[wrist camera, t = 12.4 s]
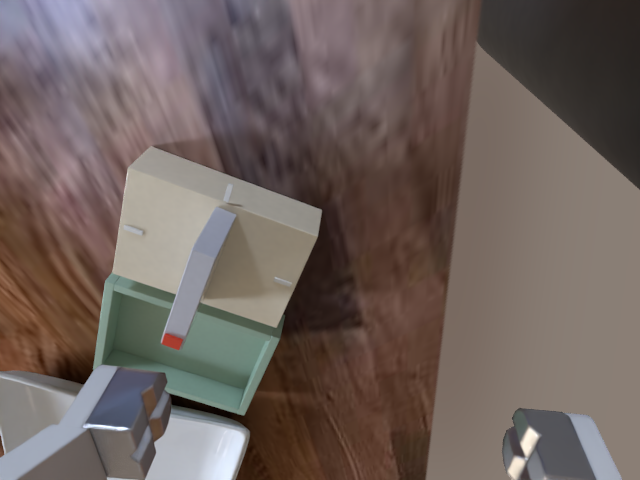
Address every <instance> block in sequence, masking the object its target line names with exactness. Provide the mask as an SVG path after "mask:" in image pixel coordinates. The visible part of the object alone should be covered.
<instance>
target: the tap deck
mask: <svg viewBox="0 0 640 480" xmlns="http://www.w3.org/2000/svg"><path fill="white" fill-rule="evenodd" d="M215 207H219V208H222V209H224V210H226V211H229V212H231V213H234V214H236V215H237V216H236V219H235V222H234V224H233V227H232V229H231V232H230V235H229V237H228V240H227V242H226V245H225V247H224V250H223V253H222V255H221V258H220V260H219V263H218V266H217V268H216V271H215V273H214V276H213V279H212V281H211V284H210V286H209V289H208V292H207V294H206V297H205V299H204V302H203V304H206V305H209V306H212V307H215V308H218V309H221V310H224V311H227V312H230V313H233V314H236V315H239V316H242V317H245V318H248V319H251V320H254V321H257V322H260V323H263V324H266V325H269V326H272V327H275V328H277V326H278V324H279V322H280V320H281V318H282V315H283V313H284V311H285V309H286V307H287V304H288V302H289V300H290V298H291V296H292V293H293V291H294V289H295V287H296V284H297V282H298V280H299V278H300V276H301V273H302V271H303V269H304V267H305V265H306V262H307V260H308V258H309V256H310V253H311V251H312V249H313V247H314V245H315V242H316V240H317V238H318V234H319V228H320V222H321V215H322V210H321V209H318V208H316V207H313V206H310V205H308V204H305V203H302V202H299V201H297V200H294V199H291V198H289V197H286V196H283V195H281V194H278V193H275V192H273V191H270V190H267V189H265V188H262V187H259V186H257V185H254V184H251V183H248V182H246V181H243V180H240V179H238V178H235V177H232V176H230V175H227V174H224V173H222V172H219V171H216V170H214V169H211V168H208V167H205V166H203V165H200V164H197V163H195V162H192V161H189V160H187V159H184V158H181V157H179V156H176V155H173V154H171V153H168V152H165V151H162V150H160V149H157V148H154V147H152V146H150V147H149V148H148V149H147V150H146V151H145V152H144V153H143V154H142V155H141V156H140V157H139V158H138V159H137V160H136V161H135V162H133V163H132V164H131V165H130V166H129V167H128V172H127V179H126V185H125V192H124V199H123V205H122V212H121V219H120V225H119V232H118V239H117V246H116V252H115V259H114V266H113V272H112V273H113V274H116V275H119V276H122V277H125V278H128V279H131V280H134V281H137V282H140V283H143V284H146V285H149V286H152V287H155V288H158V289H161V290H164V291H167V292H170V293H173V294H177V291H178V288H179V285H180V282H181V279H182V276H183V273H184V270H185V267H186V264H187V261H188V258H189V255H190V252H191V249H192V247H193V246H194V244H195V242H196V240H197V239H198V237H199V235H200V233H201V232H202V230H203V228H204V226H205V225H206V223H207V221H208V219H209V218H210V216H211V214H212V212H213V211H214V209H215Z"/></svg>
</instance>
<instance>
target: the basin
mask: <svg viewBox="0 0 640 480" xmlns="http://www.w3.org/2000/svg"><path fill="white" fill-rule="evenodd" d="M175 297H176V294H173V293H170V292H167V291H164V290H161V289H158V288H155V287H152V286H149V285H146V284H143V283H140V282H137V281H134V280H131V279H128V278H125V277H122V276H119V275H116V274H113V273H111V274H110V276H109V277H108V278H107V280H106V281H105V287H104V294H103V301H102V308H101V315H100V323H99V330H98V337H97V344H96V351H95V358H94V365H93V370H95V369H96V368H97V367H98V366H99V365H109V366H118V367H126V368H134V369H142V370H149V371H157V372H164V373H165V374H166V378H167V384H166V387H165V390H166V391H167V392H168V393H171V394H174V395H177V396H180V397H184V398H187V399H190V400H194V401H197V402H200V403H203V404H207V405H210V406H213V407H217V408H220V409H223V410H226V411H230V412H233V413H237V414H240V415H243V416H244V415H245V413H246V411H247V409H248V407H249V405H250V402H251V400H252V398H253V396H254V394H255V392H256V390H257V387H258V385H259V383H260V381H261V379H262V377H263V375H264V372H265V370H266V368H267V366H268V364H269V362H270V360H271V357H272V355H273V353H274V351H275V349H276V347H277V345H278V342H279V340H280V337H281V333H282V328H283V323H284V319H285V315H282V318H281V320H280V322H279V324H278V326H277V328H275V327H272V326H269V325H266V324H263V323H260V322H257V321H254V320H251V319H248V318H245V317H242V316H239V315H236V314H233V313H230V312H227V311H224V310H221V309H218V308H215V307H212V306H209V305H206V304H202V306H201V308H200V310H199V313H198V315H197V317H196V319H195V322H194V324H193V326H192V328H191V330H190V333H189V335H188V337H187V339H186V341H185V344H184V346H183V348H182V349H181V350H180V349H179V350H176V349H173V348H171V347H168V346H165V345H162V344H161V338H162V335H163V332H164V329H165V326H166V323H167V320H168V317H169V314H170V312H171V309H172V306H173V303H174V300H175Z"/></svg>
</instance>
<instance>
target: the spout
mask: <svg viewBox="0 0 640 480" xmlns="http://www.w3.org/2000/svg"><path fill="white" fill-rule="evenodd" d="M236 216H237V215H236V214H234V213H231V212H229V211H226V210H224V209H222V208H219V207H215V209H214V211H213V212H212V214H211V216H210V218H209V219H208V221H207V223H206V225H205V226H204V228H203V230H202V232H201V233H200V235H199V237H198V239H197V240H196V242H195V244H194V246H193V247H192V249H191V252H190V255H189V258H188V261H187V264H186V267H185V270H184V273H183V276H182V279H181V282H180V285H179V288H178V291H177V294H176V297H175V300H174V303H173V306H172V309H171V312H170V314H169V317H168V320H167V323H166V326H165V329H164V332H163V335H162V338H161V344H162V345H165V346H168V347H171V348H173V349H176V350H179V349H180V350H181V349H182V348H183V346H184V344H185V341H186V339H187V337H188V335H189V333H190V330H191V328H192V326H193V324H194V322H195V319H196V317H197V315H198V313H199V310H200V308H201V306H202V304H203V302H204V299H205V297H206V294H207V292H208V289H209V286H210V284H211V281H212V279H213V276H214V273H215V271H216V268H217V266H218V263H219V260H220V258H221V255H222V253H223V250H224V247H225V245H226V242H227V240H228V237H229V235H230V232H231V229H232V227H233V224H234V222H235V219H236Z"/></svg>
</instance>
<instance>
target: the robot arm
mask: <svg viewBox="0 0 640 480" xmlns="http://www.w3.org/2000/svg"><path fill="white" fill-rule="evenodd" d="M166 384H167V378H166V374H165V373H164V372H157V371H149V370H142V369H134V368H126V367H118V366H109V365H99V366H98V367H97V368H96V369H95V370H93V372H92V374H91V375H90V377H89V378H88V380H87V381H86V383H85V384H84V386H83V387H82V389H81V390H80V392H79V394H78V395H77V397H76V398H75V400H74V401H73V403H72V404H71V406H70V407H69V409H68V410H67V412H66V413H65V415H64V417H63V418H62V420H61V421H60V423H59V424H58V425H56V424H51V425H50V426H48V427H47V428H45V429H44V430H42V431H41V432H39V433H38V434H36V435H34V436H33V437H31V438H30V439H28V440H27V441H25V442H24V443H22V444H21V445H19V446H18V447H16V448H15V449H13V450H12V451H10V452H8V453H7V454H5V455H4V456H2V457H1V458H0V480H107V477H109V478H121V479H133V480H145V478H146V476H147V474H148V471H149V469H150V467H151V464H152V462H153V460H154V457H155V455H156V449H155V445H154V442H156V441H157V440H158V439H159V438H161V437H162V436H163V435H164V433H165V431H166V428H167V426H168V423H169V418H170V414H171V397H170V394H169V393H168V392H167V391H166V390H165V387H166ZM512 420H513V423H514V427H511V428H510V429H508V430H507V431H506V433H505V436H504V439H503V448H502V454H503V461H504V466H505V470H506V473H507V474H508V475H509V476H510V477H511V479H512V480H622V478H621V476H620V474H619V472H618V470H617V468H616V466H615V464H614V462H613V460H612V457H611V455H610V453H609V452H608V449H607V447H606V445H605V443H604V441H603V439H602V437H601V435H600V433H599V431H598V429H597V427H596V425H595V422H594V420H593V419H592V418H591V417H590V416H588V415H581V414H571V413H563V412H556V411H545V410H534V409H522V408H519V409H517V410H516V411H515V413H514V415H513V417H512Z"/></svg>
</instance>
